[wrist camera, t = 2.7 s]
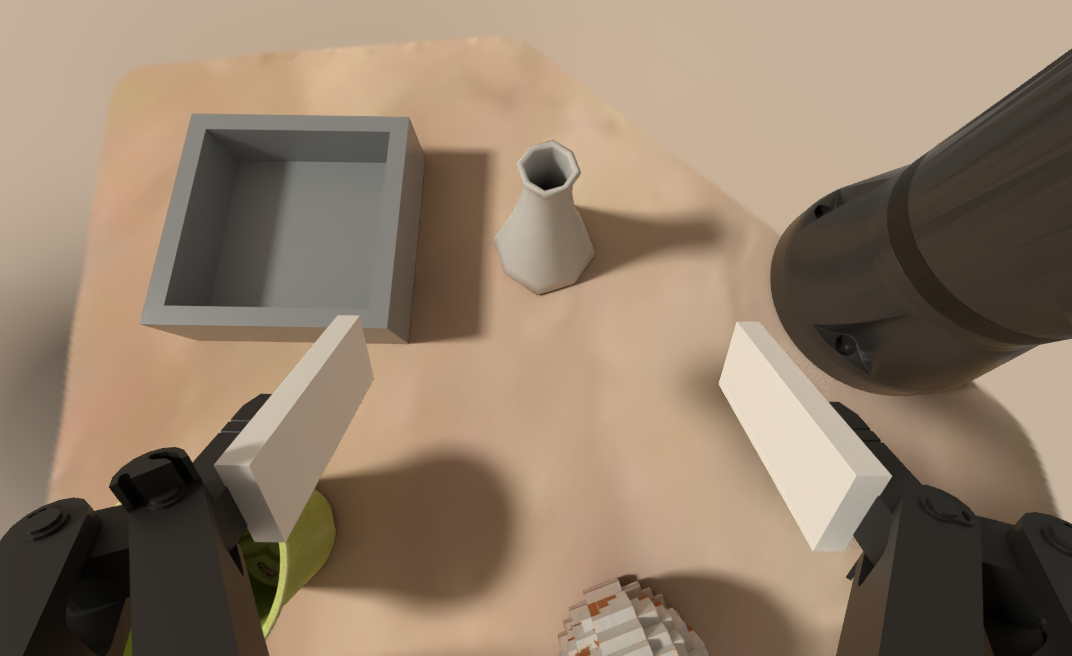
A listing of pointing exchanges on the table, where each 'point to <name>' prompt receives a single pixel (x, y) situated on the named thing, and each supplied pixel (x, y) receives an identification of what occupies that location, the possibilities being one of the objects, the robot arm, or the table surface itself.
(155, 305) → the open box
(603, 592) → the decorative ornament
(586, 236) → the flask
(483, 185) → the table surface
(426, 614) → the table surface
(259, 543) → the plant pot
